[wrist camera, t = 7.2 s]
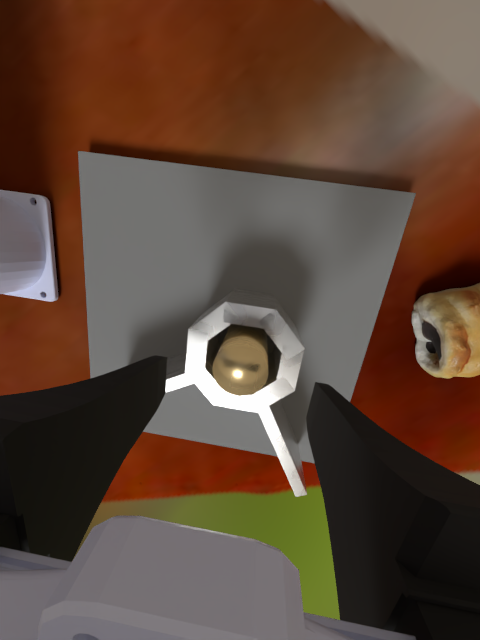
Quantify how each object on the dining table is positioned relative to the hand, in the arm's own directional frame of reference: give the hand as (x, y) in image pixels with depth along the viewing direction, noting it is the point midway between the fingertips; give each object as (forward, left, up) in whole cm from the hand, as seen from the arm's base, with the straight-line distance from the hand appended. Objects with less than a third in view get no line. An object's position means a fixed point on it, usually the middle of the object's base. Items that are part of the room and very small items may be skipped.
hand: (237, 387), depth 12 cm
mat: (-2, 0, -8) cm, 9 cm away
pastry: (+16, +3, -9) cm, 19 cm away
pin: (0, 0, -7) cm, 7 cm away
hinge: (-2, -3, -7) cm, 8 cm away
